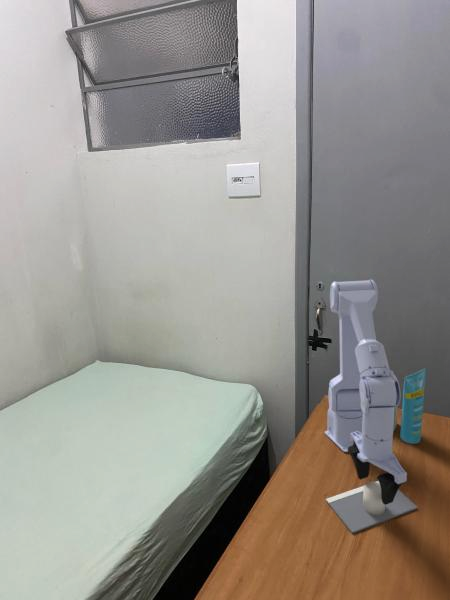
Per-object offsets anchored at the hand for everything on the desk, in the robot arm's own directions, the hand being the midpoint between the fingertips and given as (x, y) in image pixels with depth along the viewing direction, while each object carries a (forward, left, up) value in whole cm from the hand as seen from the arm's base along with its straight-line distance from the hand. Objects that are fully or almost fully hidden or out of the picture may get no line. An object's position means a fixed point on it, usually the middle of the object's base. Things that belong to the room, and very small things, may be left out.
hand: (374, 489), depth 84 cm
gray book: (-1, 0, -5) cm, 5 cm away
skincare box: (-23, +22, -5) cm, 33 cm away
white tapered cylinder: (0, 0, -5) cm, 5 cm away
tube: (-15, +24, -5) cm, 29 cm away
